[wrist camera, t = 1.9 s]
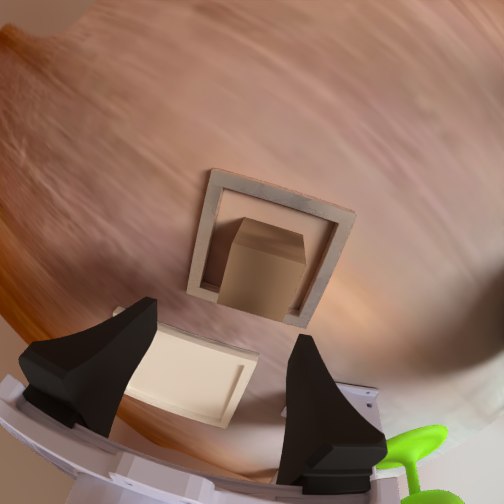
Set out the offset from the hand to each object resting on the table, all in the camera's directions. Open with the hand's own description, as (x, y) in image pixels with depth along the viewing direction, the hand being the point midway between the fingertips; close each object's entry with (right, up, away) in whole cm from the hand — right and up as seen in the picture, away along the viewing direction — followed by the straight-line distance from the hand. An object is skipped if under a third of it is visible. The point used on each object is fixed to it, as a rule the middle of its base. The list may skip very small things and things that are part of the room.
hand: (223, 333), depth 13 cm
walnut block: (+2, +4, +8) cm, 10 cm away
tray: (-7, -10, +16) cm, 20 cm away
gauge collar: (+2, +4, +8) cm, 9 cm away
